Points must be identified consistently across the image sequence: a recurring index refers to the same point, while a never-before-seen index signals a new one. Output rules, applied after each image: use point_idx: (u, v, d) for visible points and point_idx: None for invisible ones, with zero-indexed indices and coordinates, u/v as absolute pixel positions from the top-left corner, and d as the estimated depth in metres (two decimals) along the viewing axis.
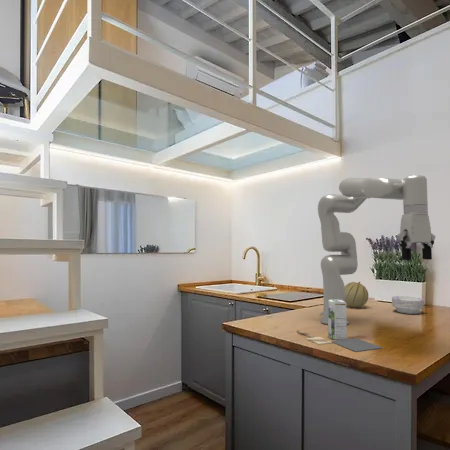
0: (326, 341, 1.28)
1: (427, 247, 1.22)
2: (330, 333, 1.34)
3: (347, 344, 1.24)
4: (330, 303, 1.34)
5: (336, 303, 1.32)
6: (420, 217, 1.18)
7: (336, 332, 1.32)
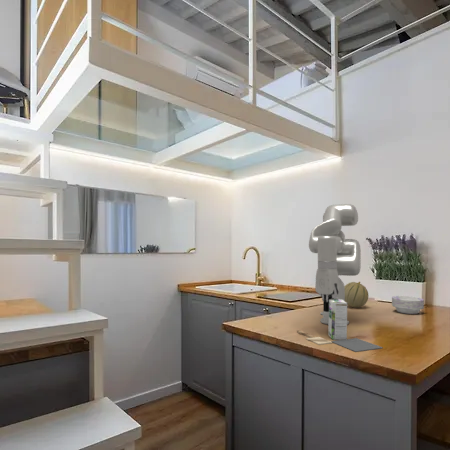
0: (326, 341, 1.28)
1: None
2: (330, 332, 1.34)
3: (347, 344, 1.24)
4: (331, 303, 1.33)
5: (337, 304, 1.31)
6: None
7: (336, 332, 1.31)
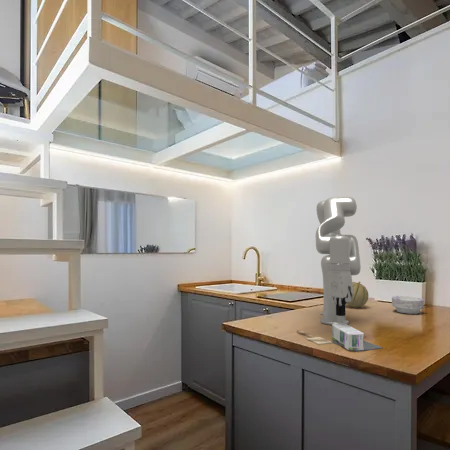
0: (326, 341, 1.28)
1: None
2: (333, 334, 1.30)
3: None
4: (347, 343, 1.18)
5: (352, 349, 1.18)
6: None
7: None
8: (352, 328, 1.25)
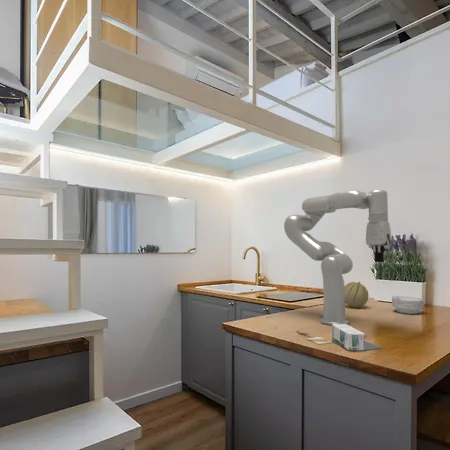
0: (326, 341, 1.28)
1: None
2: (333, 333, 1.30)
3: None
4: (347, 343, 1.18)
5: (352, 349, 1.18)
6: None
7: None
8: (352, 328, 1.25)
